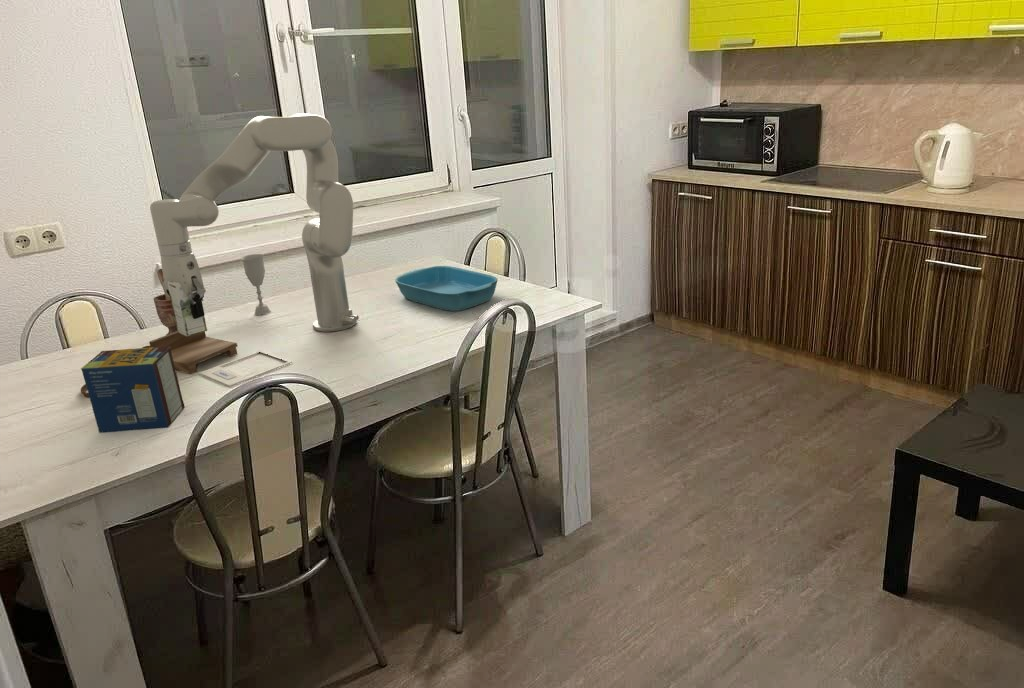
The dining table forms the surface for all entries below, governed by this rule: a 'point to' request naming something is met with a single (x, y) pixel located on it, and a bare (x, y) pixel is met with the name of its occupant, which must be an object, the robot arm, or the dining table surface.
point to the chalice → (256, 277)
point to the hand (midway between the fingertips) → (189, 314)
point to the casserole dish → (447, 287)
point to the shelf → (193, 349)
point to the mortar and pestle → (165, 307)
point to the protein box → (133, 389)
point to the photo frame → (231, 377)
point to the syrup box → (184, 311)
